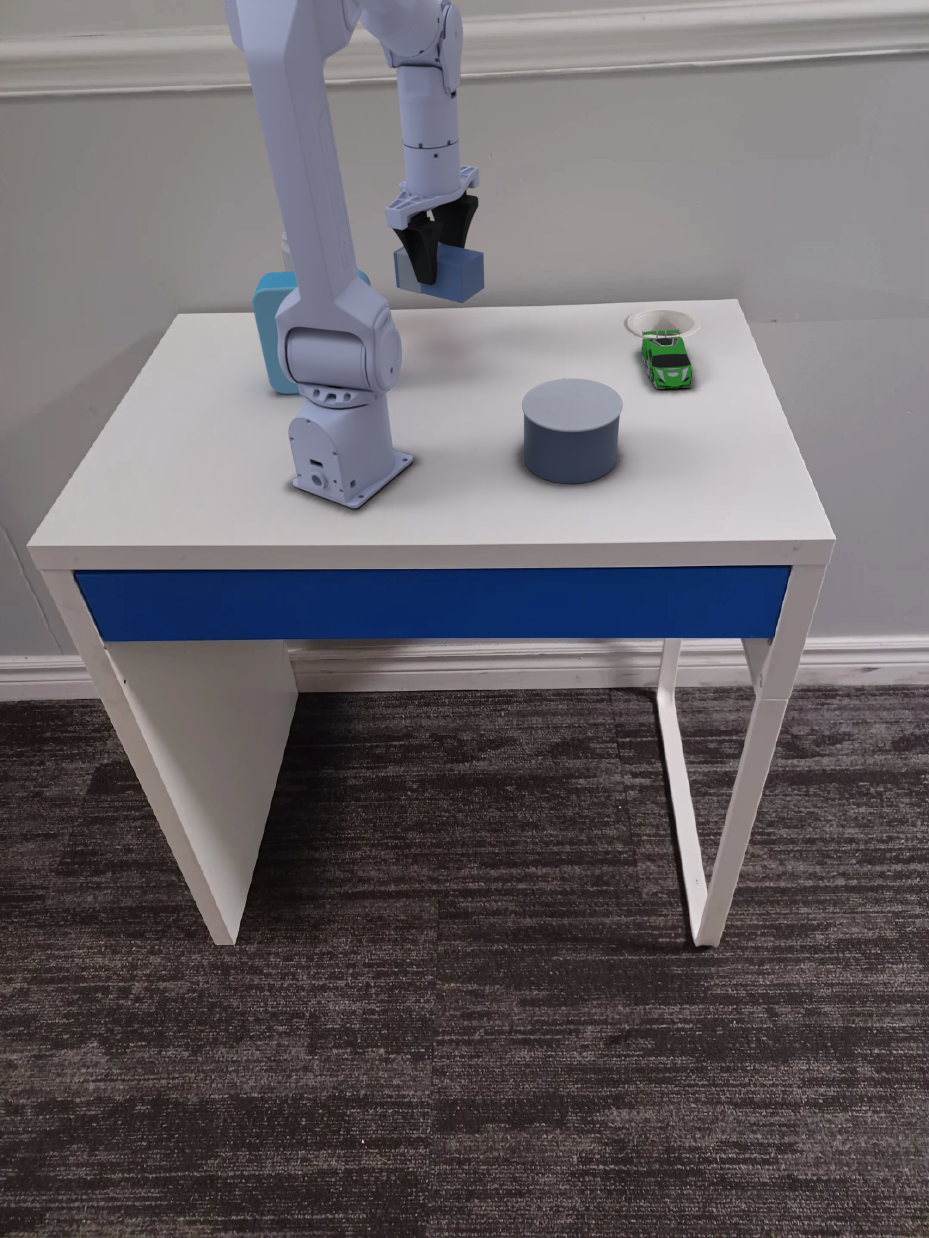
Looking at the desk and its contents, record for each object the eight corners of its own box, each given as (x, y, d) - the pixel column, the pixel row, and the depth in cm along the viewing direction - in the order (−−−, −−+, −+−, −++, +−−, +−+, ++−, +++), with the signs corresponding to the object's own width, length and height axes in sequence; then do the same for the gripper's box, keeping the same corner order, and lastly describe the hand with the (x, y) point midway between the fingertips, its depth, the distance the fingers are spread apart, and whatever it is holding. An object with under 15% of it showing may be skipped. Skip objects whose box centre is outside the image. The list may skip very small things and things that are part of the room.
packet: (462, 304, 97) (460, 267, 94) (396, 288, 101) (392, 251, 98) (484, 288, 100) (484, 251, 97) (419, 273, 103) (416, 237, 100)
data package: (381, 371, 102) (368, 267, 94) (378, 391, 99) (364, 285, 90) (278, 375, 102) (256, 272, 94) (271, 395, 99) (248, 290, 91)
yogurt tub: (590, 496, 82) (593, 440, 78) (504, 468, 86) (502, 413, 82) (634, 447, 88) (639, 393, 84) (551, 423, 92) (552, 370, 88)
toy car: (696, 389, 95) (698, 370, 94) (652, 391, 96) (654, 372, 94) (679, 346, 103) (681, 327, 101) (638, 348, 103) (639, 329, 101)
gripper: (438, 117, 96) (446, 245, 105) (355, 156, 87) (371, 291, 96) (493, 125, 93) (496, 255, 102) (413, 165, 84) (424, 304, 93)
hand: (439, 274), depth 99 cm, fingers closed on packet, 4 cm apart
